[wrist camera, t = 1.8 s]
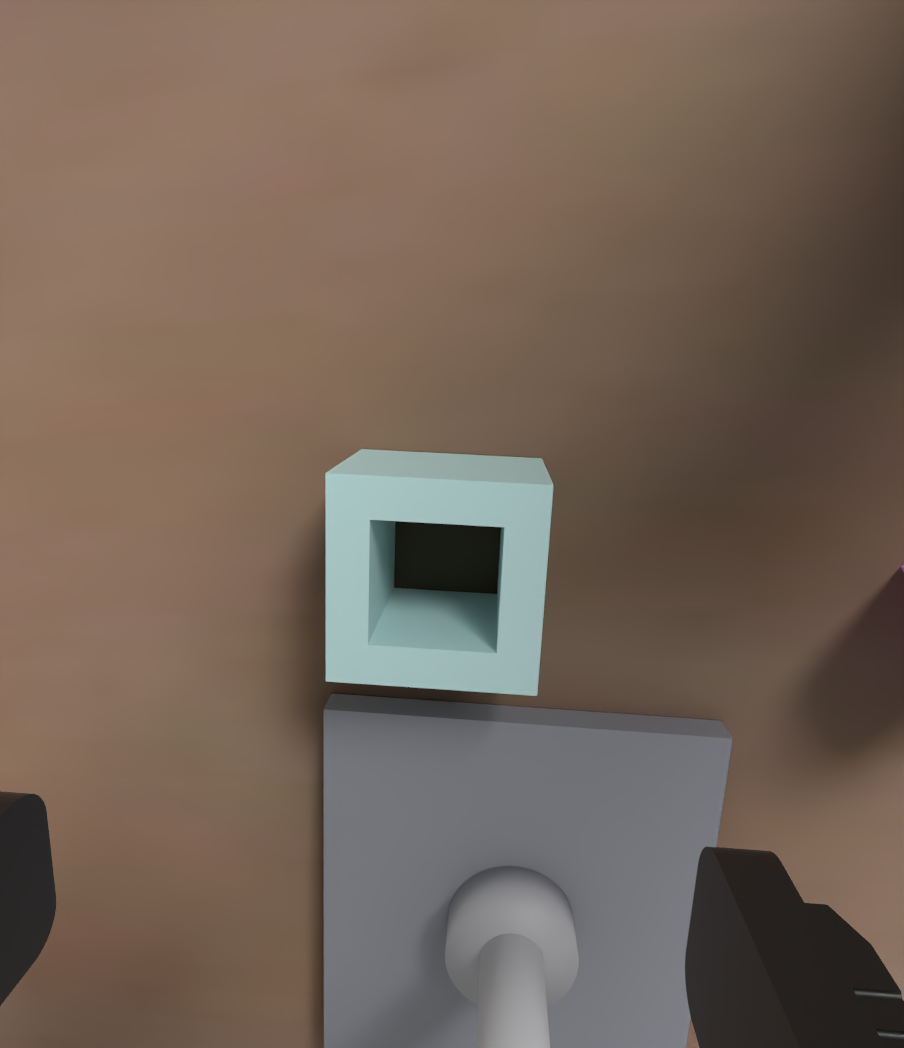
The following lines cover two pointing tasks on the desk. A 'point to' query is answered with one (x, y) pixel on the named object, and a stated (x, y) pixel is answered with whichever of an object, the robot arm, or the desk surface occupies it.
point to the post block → (511, 873)
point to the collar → (431, 615)
